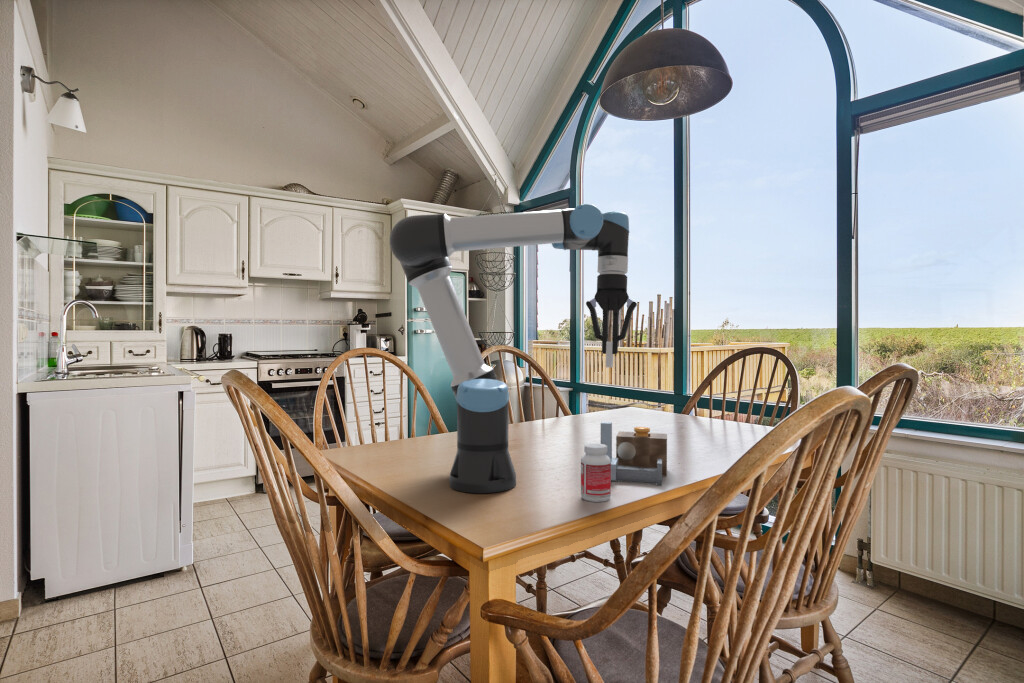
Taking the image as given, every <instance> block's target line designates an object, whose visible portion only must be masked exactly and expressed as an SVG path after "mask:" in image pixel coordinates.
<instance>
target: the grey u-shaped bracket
mask: <svg viewBox="0 0 1024 683" xmlns="http://www.w3.org/2000/svg"><path fill="white" fill-rule="evenodd" d="M611 482H622V483H623V482H624V483H634V484H635V483H636V484H648V485H649V484H650V485H656V486H658V487H659V486H660V487H661V486H662V484H663V476H662V459H658V460H657V468H649V467H635V466H620V465H617V467H616V480H611Z"/></svg>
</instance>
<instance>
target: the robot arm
mask: <svg viewBox="0 0 1024 683" xmlns="http://www.w3.org/2000/svg"><path fill="white" fill-rule="evenodd" d="M629 222H630V220H629V215H628V214H627V213H626V212H621V211H605V212H604V211H603V212H601V209H600V208H599V207H598V206H596V205H595V204H592V203H582V204H580V205H578V206H576V207H574V208H564V209H550V210H537V211H523V212H512V213H510V212H509V213H499V214H498V213H497V214H486V215H484V214H483V215H473V216H457V217H451V216H449V215H448V214H447V213H437V214H435V213H434V214H419V215H418V214H417V215H410V216H409V215H408V216H406V217H404V218H402V219H400V220H399V221H397V223H395V224H394V226H393V227H392V229H391V231H390V235H389V246H390V250H391V252H392V254H393V256H394V257H395V259H397V261H398V262H399V263H400V266H401V267H402V268H401V269H402V270H403V272H404V275H405V278H406V280H407V283H408V285H409V286H412V287H414V288H416V289H417V290H418V293H419V295H420V297H421V298H420V299H421V301H422V303H423V306H424V308H425V310H426V313H427V315H428V318H429V320H430V323H431V325H432V328H433V330H434V332H435V334H436V337H437V339H438V342H439V345H440V347H441V350H442V352H443V355H444V358H445V359H446V362H447V365H448V366H449V370H450V371H451V374H452V376H453V377H452V380H451V383H450V387H451V390H452V393H453V395H454V398H455V400H456V405H457V406H456V407H457V408H456V409H457V410H456V412H457V413H456V416H457V417H456V418H457V419H456V420H457V421H456V422H457V425H456V429H457V430H456V431H457V432H456V434H457V436H456V438H457V439H456V440H457V441H456V444H457V445H456V446H457V448H456V453H455V455H454V456H455V457H454V460H453V463H452V466H451V469H450V473H449V480H448V481H449V482H448V483H449V484H448V485H449V487H450V488H451V489H453V490H456V491H458V492H461V493H469V494H470V493H471V494H491V493H499V492H500V493H501V492H505V491H508V490H511V489H512V488H515V486H516V484H517V473H516V469H515V466H514V464H513V460H512V457H511V455H510V451H509V401H510V392H509V387H508V385H507V384H506V383H505V382H504V381H501V380H499V379H498V376H497V374H496V372H495V369H494V367H492V366H489V365H487V364H486V363H485V360H484V358H483V355H482V353H481V351H480V349H479V346H478V343H477V341H476V338H475V336H474V334H473V331H472V328H471V326H470V323H469V321H468V319H467V316H466V313H465V312H464V308H463V306H462V304H461V301H460V299H459V297H458V294H457V292H456V289H455V287H454V284H453V281H452V279H451V277H450V276H451V273H452V270H453V264H452V263H451V261H450V257H451V255H453V254H454V253H455V252H456V253H457V252H467V251H468V252H469V251H477V250H478V251H479V250H489V249H501V248H513V247H514V248H515V247H525V246H526V247H527V246H536V245H538V246H539V245H547V244H550V245H551V247H553V248H554V249H556V250H557V249H558V250H564V251H568V250H569V251H570V250H571V251H573V250H574V251H575V250H576V251H597V273H598V275H597V277H596V278H597V280H596V292H595V295H594V298H592V299H591V300H587V301H586V302H585V305H586V307H587V308H588V310H589V313H590V314H589V315H590V319H591V322H592V323H591V324H592V329H593V333H594V336H595V338H596V339H598V340H600V342H601V353H602V354H603V355H604V354H605V368H613V367H614V355H617V354H618V352H619V351H618V349H619V342H620V341H622V340H624V339H626V337H627V334H628V329H629V326H630V322H631V319H632V315H633V311H634V310H635V309H636V307H637V306H638V303H637V302H636V301H633V300H632V299H631V298H630V297H629V294H628V276H627V275H626V274H627V273H628V268H629V266H628V265H629V264H628V263H629V239H630V238H629V236H630V223H629ZM597 304H598V306H599V308H601V310H602V328H600V324H599V319H598V318H599V317H598V313H597V311H596V307H597ZM625 304H626V307H627V310H626V313H625V316H624V320H623V323H622V327H621V330H620V328H619V326H620V311H621V310H622V308H623V307H624V305H625ZM610 311H611V312H612V338H611V341H609V325H610ZM600 329H602V330H600ZM619 330H620V334H619Z"/></svg>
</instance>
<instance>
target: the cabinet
mask: <svg viewBox="0 0 1024 683" xmlns="http://www.w3.org/2000/svg"><path fill="white" fill-rule="evenodd" d="M615 442H616V443H615V449H616V450H615V458H618V465H620V466H635V467H649V468H657V460H658V459H662V477H667V475H668V433H660V432H658V433H657V432H648V437H643V436H636V432H635V431H620V430H619V431H618V432H617V434H616V436H615Z"/></svg>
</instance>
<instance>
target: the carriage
mask: <svg viewBox="0 0 1024 683" xmlns="http://www.w3.org/2000/svg"><path fill="white" fill-rule="evenodd" d="M600 444H605V445H607V453H606V455H607V456H608V457H609V458H610V460H611V480H616V467H617V465H618V458H616V457H613V445H612V444H613V422H612V421H601V422H600Z"/></svg>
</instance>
